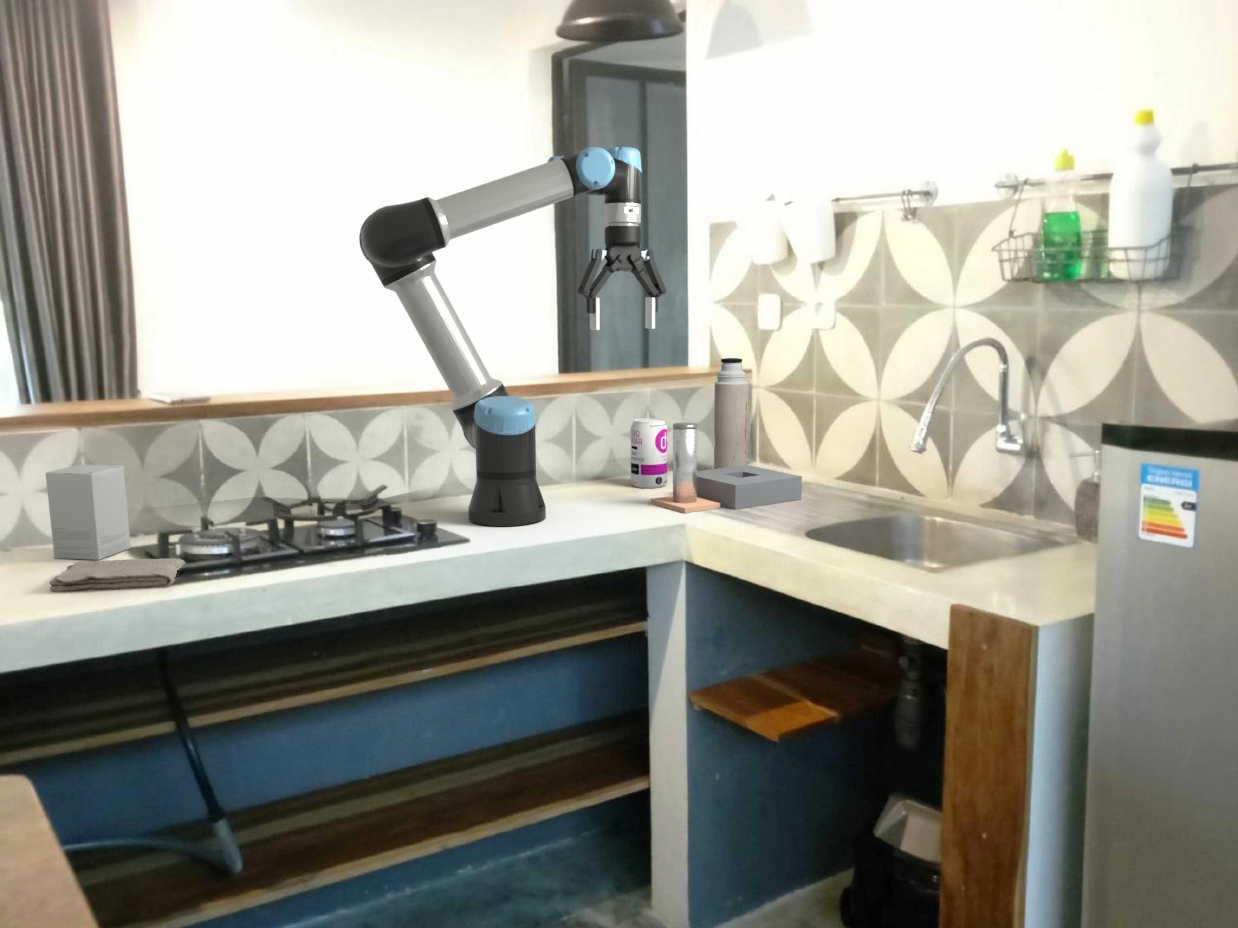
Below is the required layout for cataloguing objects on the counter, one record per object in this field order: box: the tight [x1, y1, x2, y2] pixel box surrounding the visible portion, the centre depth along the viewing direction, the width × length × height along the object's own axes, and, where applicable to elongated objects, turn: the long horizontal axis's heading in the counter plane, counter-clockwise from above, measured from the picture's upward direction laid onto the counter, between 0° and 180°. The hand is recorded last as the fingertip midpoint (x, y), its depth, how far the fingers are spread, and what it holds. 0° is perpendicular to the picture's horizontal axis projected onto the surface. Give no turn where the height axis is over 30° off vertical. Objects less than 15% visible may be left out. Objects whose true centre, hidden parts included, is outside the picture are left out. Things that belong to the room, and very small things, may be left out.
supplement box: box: [45, 464, 132, 561], centre depth 187 cm, size 9×9×15 cm
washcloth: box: [49, 557, 186, 593], centre depth 171 cm, size 12×18×3 cm, turn 100°
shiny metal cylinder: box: [672, 422, 698, 503], centre depth 224 cm, size 5×5×16 cm
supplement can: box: [630, 417, 668, 489], centre depth 247 cm, size 8×8×15 cm
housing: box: [697, 464, 803, 510], centre depth 233 cm, size 18×18×5 cm
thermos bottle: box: [713, 357, 750, 469], centre depth 257 cm, size 8×8×28 cm
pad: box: [650, 495, 721, 514], centre depth 225 cm, size 9×12×1 cm
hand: (622, 329), depth 228 cm, fingers open, 13 cm apart
